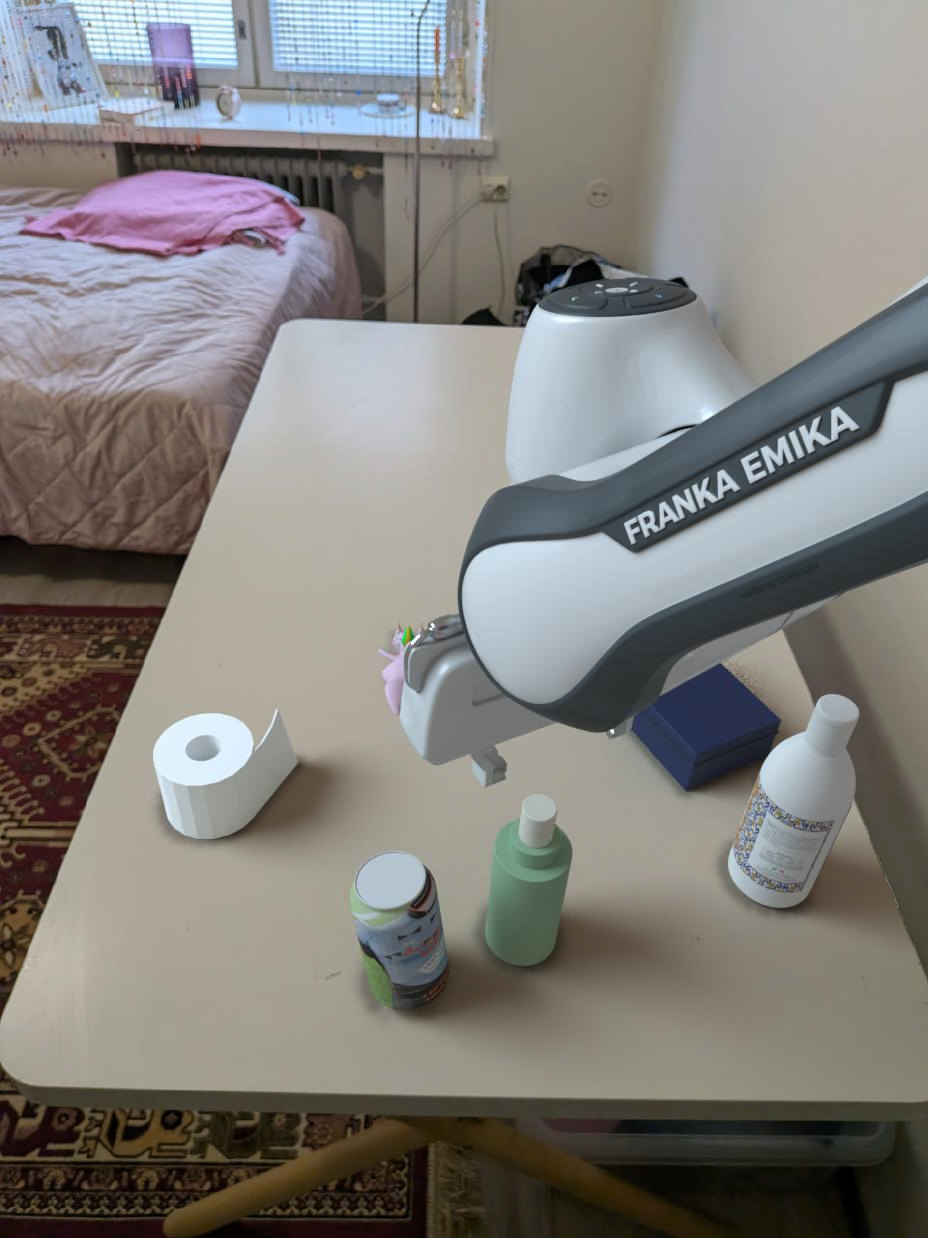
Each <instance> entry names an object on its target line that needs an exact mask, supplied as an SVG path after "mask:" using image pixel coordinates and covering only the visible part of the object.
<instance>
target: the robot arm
mask: <svg viewBox="0 0 928 1238" xmlns="http://www.w3.org/2000/svg"><path fill="white" fill-rule="evenodd" d="M510 389H511V390H510V398H509V404H508V414H507V424H506V425H507V427H506V439H505V454H504V457H505V458H504V459H505V466H506V471H507V474H508V479H509V484H510V485H509V486H506V487H501V488H500V489H498V490H497V491H495V492H493V493H492V495H490V497H489V498H487V500H486V502H485V504H484V506H483V507H482V509H481V511H480V513H479V515H478V516H477V517H478V518H477V519H476V521H475V524H474V526H473V528H472V531H471V533H470V536H469V539H468V541H467V545H466V548H465V552H464V554H463V558H462V562H461V566H460V570H459V576H458V581H457V607H458V609H457V610H458V613H455V614H452V613H451V614H445V615H442V616H438V617H436V618H434V619H433V620H430V621H429V622H428V623H427V628H426V629H424V631H422V632H421V633H419V634H418V635H417V636H416V637H415V638H414V639H413V640H412V641H410V642H409V643H408V644H407V645H406V647H405V650H404V684H403V690H402V698H401V708H400V713H399V722H400V727H401V729H402V731H403V733H404V735H405V737H406V739H407V740H408V742H409V743H410V745H411V747H412V748H413V749H414V751H415V752H416V754H417V755H418V756H419V757H420V758H421V759H422V760H424V761H426V762H427V763H429V764H430V765H433V766H443V765H444V764H448V763H451V762H454V761H456V760H459V759H461V758H463V757H466V756H469V757H470V758H471V770H472V773H473V775H474V778H476V780H477V781H478V783H479V784H480V786H481V787H483V789H486V788H489V787H490V786H492V785H495V784H498V783H500V782H502V781H505V780H506V779H507V775H506V772H507V771H508V770H507V769H508V762H507V761H506V760H505V759H504V757H503V756H502V755H499V750H498V749H497V748H496V746H497V745H499V744H502V743H504V742H505V743H506V742H508V741H511V740H513V739H515V738H519V737H521V736H524V735H526V734H529V733H532V732H535V731H537V730H540V729H543V728H545V727H549V726H551V725H555V724H560V725H564V726H566V727H570V728H573V729H576V730H580V731H584V732H588V733H593V734H595V733H596V734H597V733H598V734H600V733H606V737H607V738H608V739H609V740H613V739H616V738H618V737H621V736H624V735H627V734H629V733H630V732H631V731H632V730H631V728H632V723H633V718H634V716H635V715H636V714H637V713H639V712H640V711H642V710H643V709H645V708H647V707H648V706H650V705H651V704H653V703H654V702H656V701H657V699H658V698H659V697H660V696H661V695H663V694H665V693H667V692H669V691H670V690H672V689H674V688H676V687H678V686H680V685H681V684H683V683H685V682H687V681H689V680H690V679H692V678H694V677H696V676H698V675H699V674H701V673H703V672H705V671H707V670H709V669H710V668H712V667H714V666H716V665H718V664H719V663H721V664H722V663H723V662H725V661H727V660H728V659H730V658H732V657H734V656H735V655H738V654H739V653H741V652H743V651H745V650H746V649H749V648H750V647H752V646H754V645H756V644H758V643H760V642H761V641H763V640H765V639H767V638H768V637H771V636H773V635H775V634H777V633H779V632H780V631H783V630H784V629H785V628H788V627H789V626H791V625H793V624H794V623H796V622H798V621H800V620H802V619H803V618H805V617H807V616H808V615H810V614H812V613H814V612H816V611H817V610H818V609H820V608H821V607H824V606H825V605H827V604H828V603H830V602H832V601H833V600H835V599H838V598H839V597H841V596H842V595H843V594H845V593H846V592H849V591H852V590H855V589H857V588H860V587H863V586H865V585H868V584H871V583H874V582H877V581H880V580H882V579H885V578H888V577H891V576H893V575H896V574H899V573H903V572H904V571H907V570H911V569H914V568H916V567H919V566H922V565H925V564H928V275H926V276H925V277H924V278H922V279H921V280H920V281H918V282H917V283H916V284H914V285H912V287H911V288H910V289H908V290H907V291H905V292H904V293H903V294H901V295H900V296H899V297H897V298H896V299H895V300H893V301H892V302H890V303H889V304H888V305H887V306H885V307H884V308H882V309H881V310H880V311H879V312H877V313H876V314H874V315H873V316H871V317H870V318H868V319H866V320H865V321H864V322H861V323H860V324H858V325H856V326H855V327H854V328H852V329H851V330H849V331H847V332H846V333H844V334H843V335H841V336H839V337H838V338H836V339H835V340H833V341H832V342H830V343H828V344H826V345H825V346H824V347H822V348H820V349H818V350H817V351H815V352H814V353H812V354H811V355H809V356H807V357H806V358H804V359H802V360H801V361H800V362H798V363H797V364H795V365H792V366H791V367H790V368H789V369H786V370H785V371H784V372H782V373H780V374H779V375H777V376H776V377H774V378H772V379H770V380H769V381H767V382H765V383H764V384H761V383H760V382H759V381H758V380H757V379H756V378H754V376H753V375H751V374H750V372H749V371H747V370H746V369H745V368H744V367H743V366H742V365H741V364H740V363H739V361H737V359H735V357H734V356H733V355H732V354H731V353H730V352H729V351H728V349H727V348H726V346H725V345H724V344H723V342H722V340H721V339H720V337H719V335H718V333H717V332H716V328H715V326H714V323H713V320H712V319H711V315H710V312H709V310H708V307H707V304H705V302H704V300H703V298H701V296H700V295H699V294H698V293H696V292H695V291H694V290H692V289H690V288H689V287H686V286H683V285H682V284H681V283H678V282H674V281H670V280H665V279H660V278H652V277H634V276H632V277H631V276H630V277H629V276H627V277H625V278H611V279H610V278H602V279H597V280H592V281H587V282H582V283H579V284H576V285H572V286H568V287H564V288H561V289H558V290H556V291H554V292H551V293H550V294H548V295H547V296H546V297H544V298H543V299H542V300H540V301H539V302H537V304H536V305H535V307H534V308H533V309H532V312H531V314H530V316H529V318H528V319H527V321H526V324H525V328H524V330H523V333H522V335H521V339H520V343H519V348H518V350H517V355H516V361H515V365H514V370H513V377H512V383H511V388H510Z"/></svg>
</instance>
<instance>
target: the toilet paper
mask: <svg viewBox="0 0 928 1238" xmlns="http://www.w3.org/2000/svg"><path fill="white" fill-rule="evenodd" d="M152 758H153V765H154V771H155V774H156V777H157V781H158V785H159V789H160V793H161V798H162V801H163V805H164V809H165V813H166V814H165V815H166V817H167V820H168V821H169V823H170V825H171V826H172V827H173V829H174V830H176V831H177V832H179V833H181V834H182V835H183V836H185V837H189V838H192V839H196V840H215V839H220V838H224V837H228V836H231V835H232V834H234V833H236V832H238V831H240V830H242V829H243V828H245V827H246V826H247V825H248V824H249V823H250V822H251V821H252V820H253V819H254V818H255V817H256V816H257V814H258V813H259V812H260V811H261V809H262V808H263V807H264V806H265V805H266V803H267V802H268V801H269V800H270V798H271V797H272V796H273V795H274V793H275V792H276V791H277V790H278V788H279V787H280V786H281V785H282V783H283V782H285V780H286V779H287V777H289V775H290V774H291V773H292V771H293V770H294V769H295V767H296V766H297V765H298V764H299V762H298V759H297V756H296V754H295V751H294V748H293V745H292V743H291V741H290V738H289V735H288V732H287V729H286V727H285V724H284V721H283V719H282V716H281V712H280V711H279V709H278V708H275V711H274V714H273V717H272V720H271V722H270V725H269V727H268V729H267V731H266V732H265V735H264V736H263V738H262V739H261V741H260V742H259V744H258V745H257V746H256V747H255V742H254V738H253V735H252V731H251V730H250V729H249V728H248V726H247V725H246V724H245V723H244V722H243V721H241V720H239V719H238V718H236V717H234V716H231V715H227V714H224V713H216V712H215V713H214V712H213V713H212V712H211V713H207V712H205V713H199V714H195V715H190V716H188V717H185V718H183V719H180V720H179V721H177V722H174V723H173V724H172V725H170V726H169V727H168V728H167V729H165V730H164V731H163V732H162V733H161V734H160V736H159V737H158V739H157V740H156V741H155V744H154V748H153V751H152Z"/></svg>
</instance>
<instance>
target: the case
mask: <svg viewBox="0 0 928 1238" xmlns="http://www.w3.org/2000/svg"><path fill="white" fill-rule="evenodd" d="M781 724H782V719H781V718H780V717H779V716H778V715H777V714H775V713H774V712H773V710H771V709H770V708H769V707H768V705H766V704H765V703H764V702H763V701H762V700H760V698H758V697H757V696H756V695H755V694H754V692H752V691H751V690H750V689H749V688H748V687H747V686H746V685H745V684H744V683H743V682H742V681H740V680H739V679H738V678H737V677H736V675H734V674H733V673H732V672H731V671H730V670H729V669H728V668H727V667H726V666H725V665H724V664H723V663H722V662H721V663H719V664H718V665H716V666H714V667H712V668H710V669H709V670H707V671H705V672H703V673H701V674H699V675H698V676H696V677H694V678H692V679H690V680H689V681H687V682H685V683H683V684H681V685H680V686H678V687H676V688H674V689H672V690H670V691H669V692H667V693H665V694H663V695H661V696H660V697H659V698H658V699H657V701H656V702H654V703H653V704H651V705H650V706H648V707H647V708H645V709H643V710H642V711H640V712H639V713H637V714H636V715H635V716H634V718H633V723H632V728H631V731H632V732H633V734H635V736H636V737H637V738H638V739H639V740H640V741H641V743H642V744H643V745H644V746H645V747H646V748H647V749H648V750H649V752H650V753H651V754H652V755H653V756H654V757H655V758H656V759H657V760H658V762H659V763H660V764H661V765H662V766H663V767H664V768H665V770H666V771H667V772H668V773H669V774H670V775H671V776H672V778H673V779H674V780H675V781H676V782H677V783H678V785H680V786H681V787H682V788H683V790H684V791H685V792H687V791H690V790H692V789H694V788H697V787H699V786H702V785H704V784H706V783H709V782H711V781H713V780H717V779H718V778H720V777H723V776H725V775H728V774H730V773H732V772H735V771H738V770H739V769H742V768H745V767H747V766H749V765H751V764H754V763H756V762H758V761H761V760H763V759H766V758H767V757H768V755H769V754H770V753H771V751H772V747H773V745H774V741H775V740H776V737H777V735H779V732H780V731H779V729H780V726H781Z"/></svg>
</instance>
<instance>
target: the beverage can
mask: <svg viewBox="0 0 928 1238" xmlns="http://www.w3.org/2000/svg"><path fill="white" fill-rule="evenodd" d="M348 895H349V898H348V901H349V907H350V912H351V916H352V921H353V924H354V927H355V928H354V929H355V932H356V937H357V941H358V945H359V949H360V952H361V955H362V961H363V964H364V968H365V973H366V977H367V980H368V985H369V988H370V990H371V993H372V994H373V996H374V998H375V999H376V1000H377V1001H379V1003H381V1004H382V1005H384V1006H385V1007H388V1008H390V1009H393V1010H397V1011H412V1010H413V1011H414V1010H417V1009H420V1008H422V1007H423V1008H424V1007H425V1006H427V1005H429V1004H430V1003H432V1002H433V1001H435V1000H436V999H437V998H438V997H439V996H440V995H441V993H443V991H444V989H445V987H446V986H447V983H448V980H449V976H450V963H449V958H448V951H447V945H446V944H447V943H446V939H445V933H444V926H443V920H442V919H443V918H442V912H441V907H440V900H439V895H438V889H437V883H436V880H435V877H434V876H433V874H432V872H431V870H430V869H429V868H428V867H427V866H426V865H424V864H423V863H422V862H421V860H420V859H419V858H417V857H416V856H415V855H414V854H411V853H409V852H406V851H401V850H389V851H384V852H380V853H378V854H375V855H373V856H371V857H370V858H368V859H367V860H366V861H365V862H363V864H362V865H360V867H359V868H358V870H357V871H356V874H355V876H354V880H353V882H352V883H351V886H350V889H349V894H348Z"/></svg>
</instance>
